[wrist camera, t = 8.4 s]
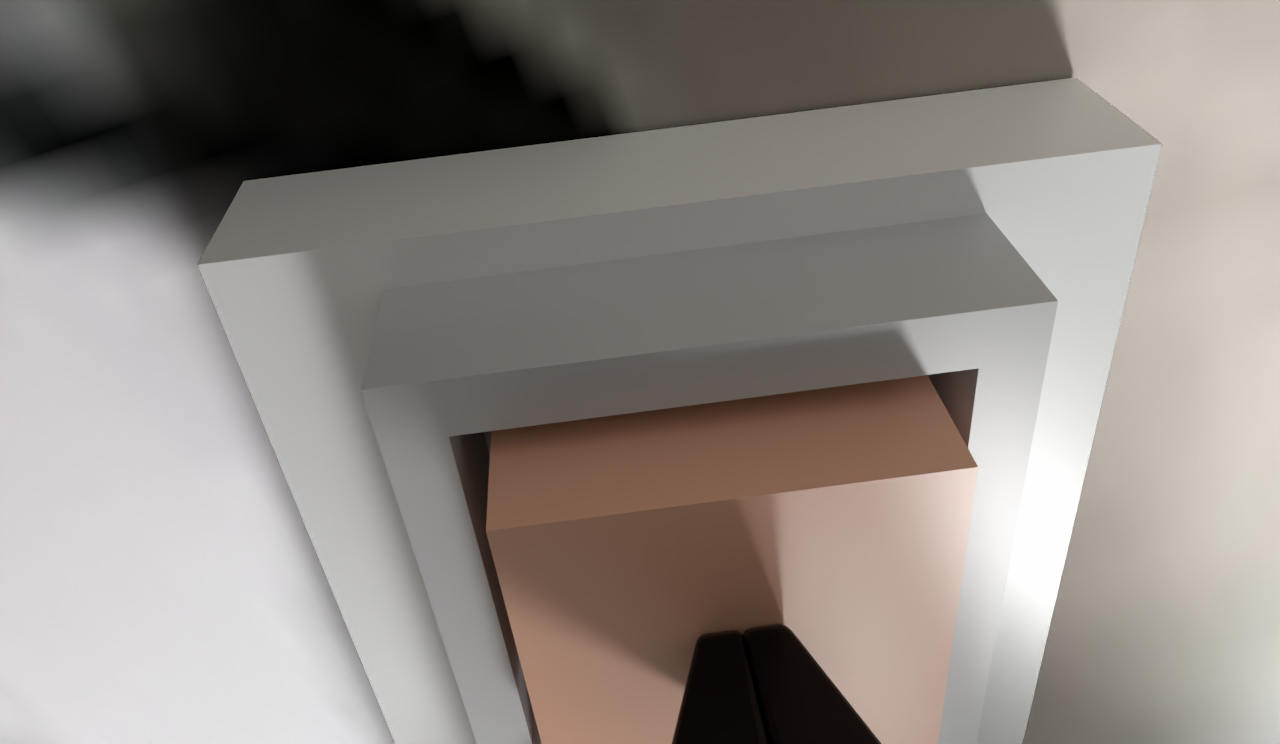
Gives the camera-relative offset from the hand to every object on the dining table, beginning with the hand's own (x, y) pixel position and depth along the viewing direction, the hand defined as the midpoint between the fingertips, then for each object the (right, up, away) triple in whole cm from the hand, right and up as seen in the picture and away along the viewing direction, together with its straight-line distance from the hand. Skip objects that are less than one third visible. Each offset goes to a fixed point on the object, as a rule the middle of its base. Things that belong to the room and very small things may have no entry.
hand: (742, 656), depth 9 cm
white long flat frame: (0, -4, +8) cm, 9 cm away
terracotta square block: (0, +1, +2) cm, 2 cm away
